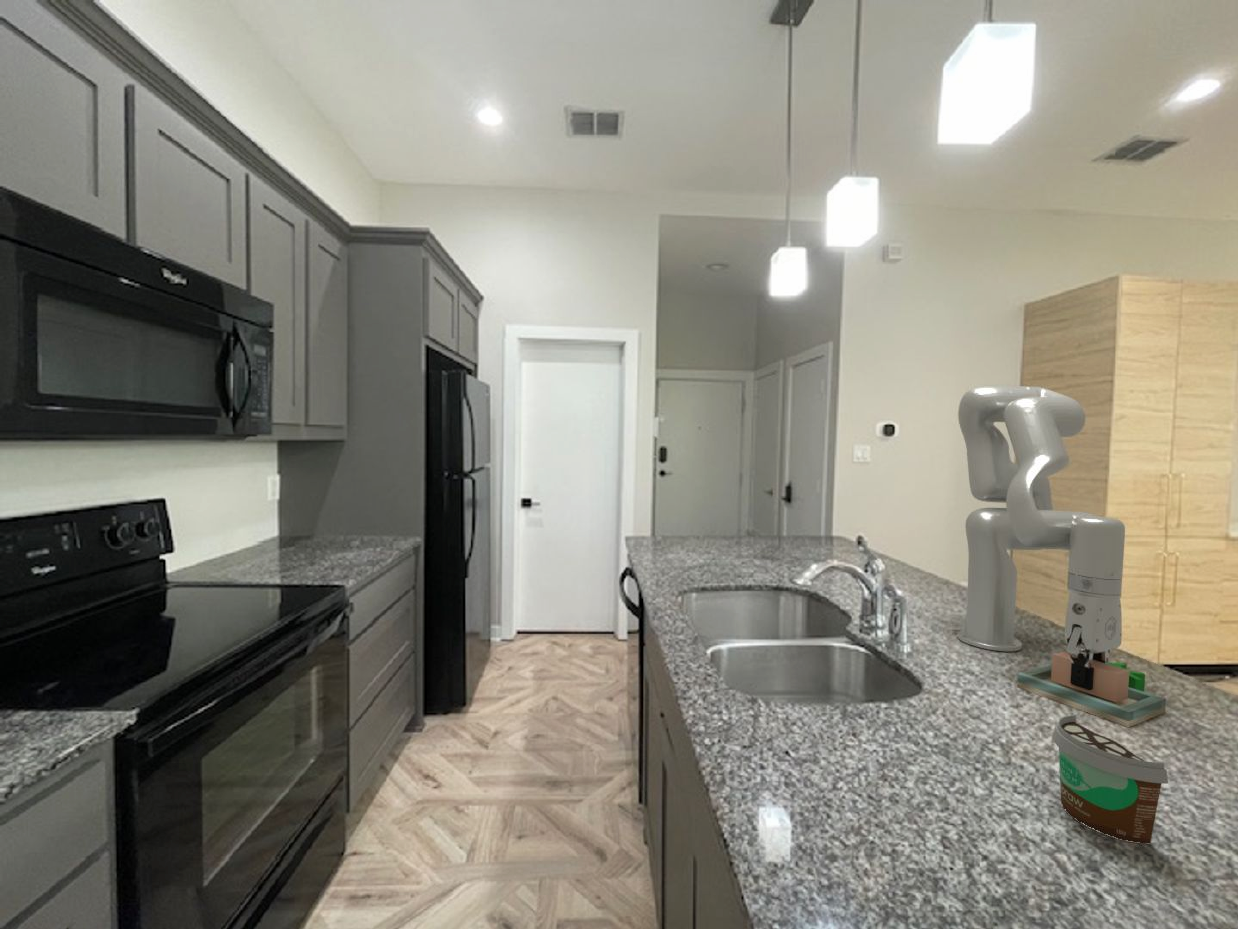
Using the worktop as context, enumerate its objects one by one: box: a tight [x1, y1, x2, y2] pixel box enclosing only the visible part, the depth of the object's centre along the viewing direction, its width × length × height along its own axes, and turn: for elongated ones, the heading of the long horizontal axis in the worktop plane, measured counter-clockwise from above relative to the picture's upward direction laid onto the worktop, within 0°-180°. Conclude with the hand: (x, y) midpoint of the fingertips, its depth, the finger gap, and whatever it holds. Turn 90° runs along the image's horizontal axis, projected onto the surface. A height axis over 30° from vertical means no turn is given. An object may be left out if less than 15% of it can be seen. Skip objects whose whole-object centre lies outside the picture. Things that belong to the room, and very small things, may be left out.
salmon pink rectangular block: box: [1051, 650, 1130, 703], centre depth 104 cm, size 4×10×5 cm, turn 27°
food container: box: [1051, 714, 1169, 844], centre depth 69 cm, size 12×6×10 cm, turn 5°
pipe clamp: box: [1107, 661, 1146, 692], centre depth 108 cm, size 11×4×5 cm, turn 173°
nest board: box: [1016, 664, 1167, 728], centre depth 104 cm, size 17×13×2 cm
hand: (1088, 684), depth 104 cm, fingers closed on salmon pink rectangular block, 3 cm apart
